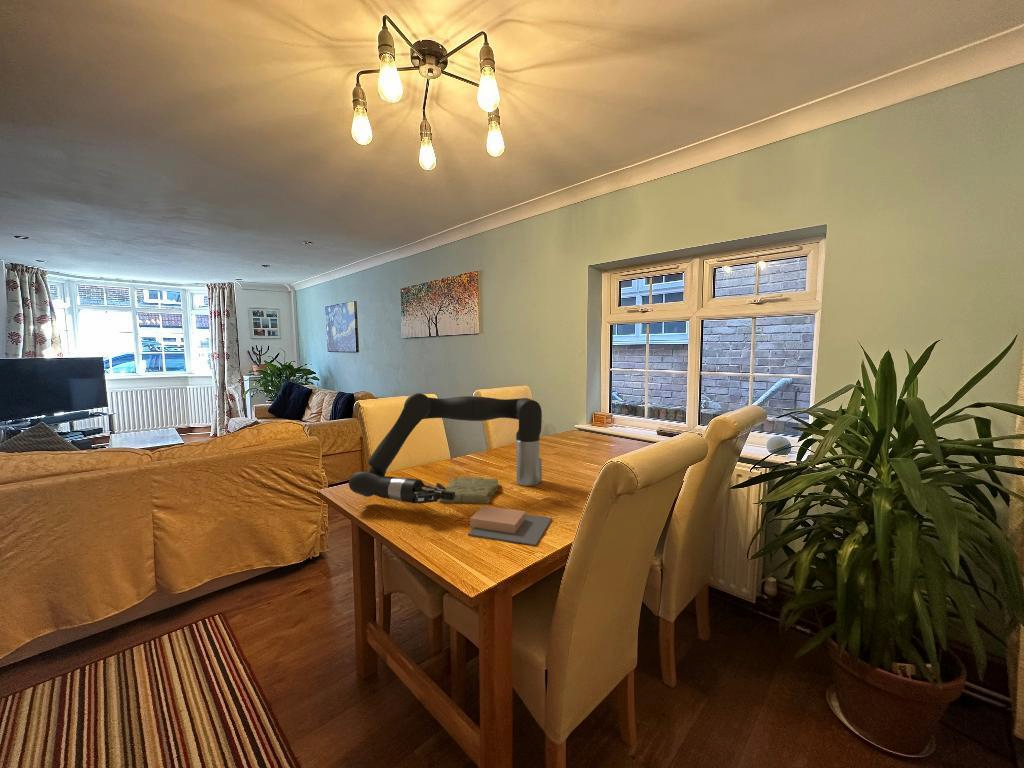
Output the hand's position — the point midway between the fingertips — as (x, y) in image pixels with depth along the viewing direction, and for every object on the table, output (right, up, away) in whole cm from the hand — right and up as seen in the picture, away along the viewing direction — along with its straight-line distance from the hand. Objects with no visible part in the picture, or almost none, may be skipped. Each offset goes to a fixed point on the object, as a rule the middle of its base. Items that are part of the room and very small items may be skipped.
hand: (454, 496), depth 125 cm
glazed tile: (+7, -6, -2) cm, 9 cm away
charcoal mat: (+18, -8, -6) cm, 20 cm away
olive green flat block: (+3, -6, +24) cm, 24 cm away
